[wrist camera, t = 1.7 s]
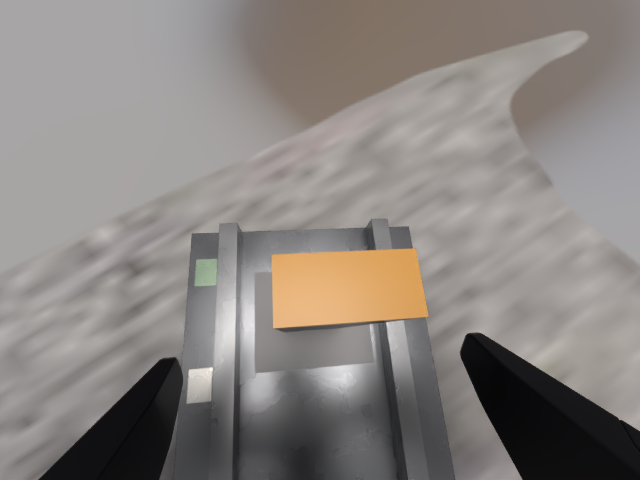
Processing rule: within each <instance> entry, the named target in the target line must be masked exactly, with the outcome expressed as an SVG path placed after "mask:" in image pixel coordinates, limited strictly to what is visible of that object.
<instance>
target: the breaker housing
mask: <svg viewBox="0 0 640 480" xmlns="http://www.w3.org/2000/svg"><path fill="white" fill-rule="evenodd" d="M390 249H413V247H412V242H411V236H410V231H409V226H408V227H389V226H388V219H371V221H370V222H369V224H368V225H367V226H366V228H348V229H318V230H288V231H258V232H242V231H241V229H240V227H239V225H238V223H223V224H220V226H219V233H197V234H192V239H191V252H190V266H189V279H188V292H187V306H186V319H185V332H184V345H183V359H182V373H183V387H182V391H181V396H180V401H179V412H178V425H177V438H176V452H175V465H174V478H173V480H455V475H454V470H453V465H452V459H451V454H450V448H449V443H448V437H447V432H446V426H445V421H444V416H443V410H442V405H441V399H440V394H439V388H438V383H437V378H436V372H435V367H434V361H433V356H432V350H431V345H430V340H429V334H428V329H427V323H426V318H425V317H424V318H416V319H408V320H401V321H393V322H385V323H377V324H369V325H370V333H371V341H372V349H373V358H374V363H364V364H353V365H342V366H331V367H320V368H309V369H298V370H287V371H276V372H265V373H255V272H272V255H273V254H296V253H320V252H343V251H366V250H390Z"/></svg>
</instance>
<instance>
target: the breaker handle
mask: <svg viewBox="0 0 640 480" xmlns="http://www.w3.org/2000/svg"><path fill="white" fill-rule="evenodd" d="M424 317H428V311H427V306H426V301H425V295H424V290H423V285H422V279H421V274H420V269H419V263H418V258H417V253H416V248H413V249H390V250H366V251H343V252H320V253H296V254H273V255H272V272H255V373H265V372H276V371H287V370H298V369H309V368H320V367H331V366H342V365H353V364H364V363H374V358H373V349H372V341H371V333H370V325H369V324H377V323H385V322H393V321H401V320H408V319H416V318H424Z"/></svg>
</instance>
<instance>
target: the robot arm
mask: <svg viewBox="0 0 640 480" xmlns="http://www.w3.org/2000/svg"><path fill="white" fill-rule="evenodd" d="M460 356H461V359H462V361H463V364H464V366H465V368H466V370H467V373H468V375H469V377H470V380H471V382H472V384H473V386H474V389H475V391H476V393H477V396H478V398H479V400H480V402H481V404H482V406H483V408H484V410H485V412H486V414H487V416H488V417H489V419H490V421H491V423H492V425H493V427H494V428H495V430H496V432H497V434H498V436H499V437H500V439H501V441H502V443H503V445H504V447H505V448H506V450H507V452H508V454H509V456H510V457H511V459H512V461H513V463H514V465H515V467H516V468H517V470H518V472H519V474H520V476H521V477H522V479H523V480H640V431H639V430H637V429H635V428H634V427H632V426H630V425H629V424H627V423H626V422H624V421H622V420H619V419H618V418H617V417H616V416H614V415H613V414H611V413H609V412H608V411H606V410H605V409H603V408H601V407H600V406H598V405H596V404H595V403H593V402H592V401H590V400H588V399H587V398H585V397H584V396H582V395H580V394H579V393H577V392H575V391H574V390H572V389H571V388H569V387H567V386H566V385H564V384H563V383H561V382H559V381H558V380H556V379H554V378H553V377H551V376H550V375H548V374H546V373H545V372H543V371H542V370H540V369H538V368H537V367H535V366H533V365H532V364H530V363H529V362H527V361H525V360H524V359H522V358H521V357H519V356H517V355H516V354H514V353H512V352H511V351H509V350H508V349H506V348H504V347H503V346H501V345H500V344H498V343H496V342H495V341H493V340H491V339H490V338H488V337H487V336H485V335H483V334H482V333H468V334H467V335H466V336H465V338H464V341H463V344H462V347H461V350H460ZM182 387H183V373H182V370H181V367H180V363H179V360H178V359H177V358H176V357H171V358H163V359H161V360H159V361H158V362H157V363H156V364H155V365H154V366H153V367H152V368H151V369H150V370H149V371H148V372H147V373H146V374H145V375H144V376H143V377H142V378H141V379H140V380H139V381H138V382H137V383H136V384H135V385H134V386H133V387H132V388H131V389H130V390H129V391H128V392H127V393H126V394H125V395H124V396H123V397H122V398H121V399H120V400H119V401H118V402H117V403H116V404H115V405H114V406H112V407H111V408H110V409H109V410H108V411H107V412H106V413H105V414H104V415H103V416H102V417H101V418H100V419H99V420H98V421H97V422H96V423H95V424H94V425H93V426H92V427H91V428H90V429H89V430H88V431H87V432H86V433H85V434H84V435H83V436H82V437H81V438H80V439H79V440H78V441H77V442H76V443H75V444H74V445H73V446H72V447H71V448H70V449H69V450H68V451H67V452H66V453H65V454H64V455H63V456H62V457H61V458H60V459H59V460H58V461H57V462H56V463H55V464H54V465H53V466H52V467H51V468H50V469H49V470H48V471H47V472H46V473H45V474H43V475H42V476H41V477H40V478H39V479H38V480H159V478H160V475H161V472H162V469H163V466H164V462H165V459H166V456H167V453H168V450H169V446H170V443H171V439H172V434H173V430H174V425H175V420H176V415H177V411H178V406H179V401H180V396H181V391H182Z"/></svg>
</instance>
